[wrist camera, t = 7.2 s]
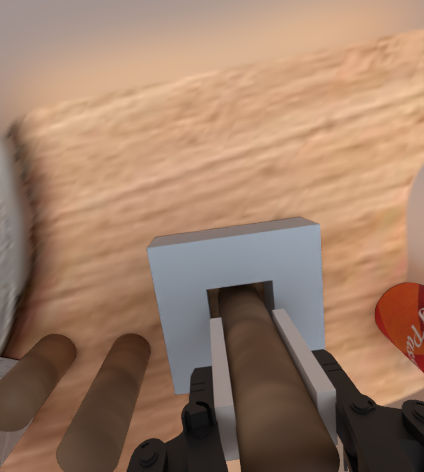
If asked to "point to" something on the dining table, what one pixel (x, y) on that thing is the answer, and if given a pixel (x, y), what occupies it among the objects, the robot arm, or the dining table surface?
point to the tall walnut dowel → (269, 393)
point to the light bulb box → (3, 441)
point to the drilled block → (234, 283)
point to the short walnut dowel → (33, 380)
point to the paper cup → (404, 319)
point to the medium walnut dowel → (106, 410)
